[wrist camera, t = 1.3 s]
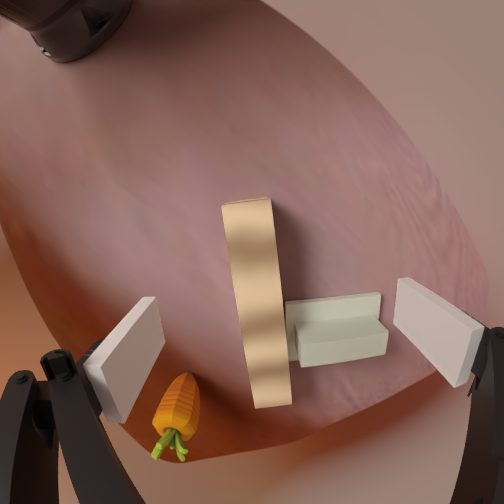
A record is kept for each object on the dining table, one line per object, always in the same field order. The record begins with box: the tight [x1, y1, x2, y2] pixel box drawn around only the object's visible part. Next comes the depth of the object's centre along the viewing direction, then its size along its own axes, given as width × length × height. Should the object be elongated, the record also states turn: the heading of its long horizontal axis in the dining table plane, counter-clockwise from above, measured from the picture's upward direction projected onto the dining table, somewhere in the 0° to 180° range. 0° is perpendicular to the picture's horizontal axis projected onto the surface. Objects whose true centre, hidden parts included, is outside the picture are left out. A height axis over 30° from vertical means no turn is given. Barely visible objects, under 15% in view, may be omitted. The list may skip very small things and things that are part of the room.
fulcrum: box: [285, 292, 389, 367], centre depth 31 cm, size 8×12×6 cm, turn 94°
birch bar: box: [221, 197, 292, 409], centre depth 31 cm, size 24×4×6 cm, turn 8°
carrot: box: [151, 372, 200, 461], centre depth 28 cm, size 5×5×15 cm
